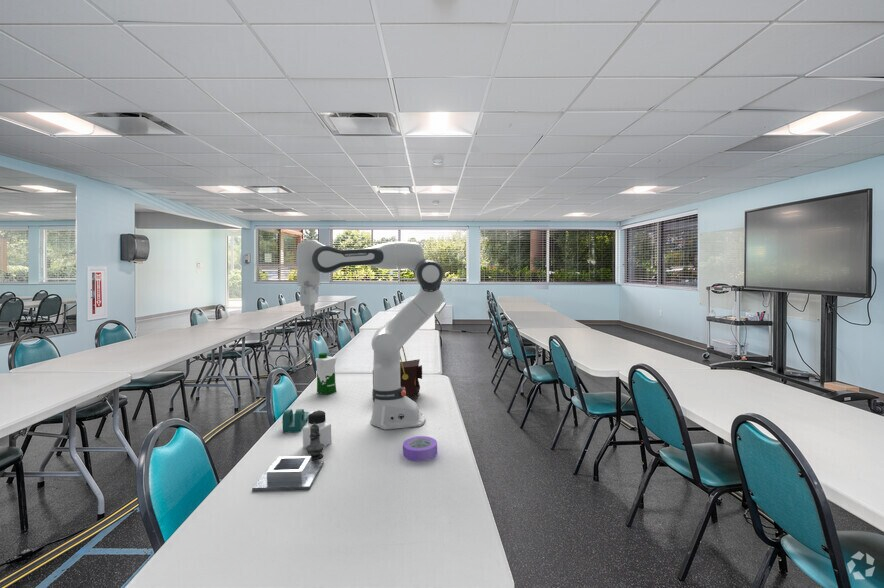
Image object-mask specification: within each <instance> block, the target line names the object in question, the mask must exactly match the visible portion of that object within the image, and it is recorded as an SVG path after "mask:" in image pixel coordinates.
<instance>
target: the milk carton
mask: <svg viewBox="0 0 884 588" xmlns="http://www.w3.org/2000/svg"><path fill="white" fill-rule="evenodd" d="M314 361H315V365H316V393H317V392H318V393H317V394H320V393H322V394H321V395H325V394H326V395H330V394H333V393H336V392H337V385H336V383H337V382H336V361H337V357H334V356H330V355H329V356H328V353H326V352H322V353H318V357H316V358H315V359H314Z"/></svg>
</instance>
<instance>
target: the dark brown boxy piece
mask: <svg viewBox="0 0 884 588" xmlns="http://www.w3.org/2000/svg"><path fill="white" fill-rule="evenodd" d="M401 349H402V352H403V357H404V360H405V361H403V360H402V356H401V354H400V386H401V387H403V388H404V387H405V390H406V395H405V396H407V397H419V393H420V390H421V389H420V388H421V385H420V381H419V379H421V380H422V379H423V365H422V364H421V365H420V359H412V360H408V359H407V357H406V353H405V349H404V345H403V346H402V347H401V348H400V350H401ZM373 387H374V383H373V382H372V388H373Z"/></svg>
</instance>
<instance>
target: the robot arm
mask: <svg viewBox="0 0 884 588" xmlns="http://www.w3.org/2000/svg"><path fill="white" fill-rule="evenodd" d="M295 255H296V257H295V259H296V260H295V263H296V266H297V271H296V285H297V286H298V287H299V286H300V289H299V292H300V293H299V296H300V297H299V298H300V299H299V301H300V302H299V303H300V306H301V307H303V310H304V316H305V318H310V317H311V316H313V315H315V308H316V303H318V302H319V301H318V300H319V286H320V285H321V273H324V274H329V273H335V272H338V271H339V270H341V269H342V268H345V267H358V266H368V267H374V268H377V269H380V270H381V269H382V270H402V269H406V270H408V269H409V270H411V271H412V273H413V276H414V277H415V279H416V282H417V283H418V284H420V288H419V290H418V292H417V293H416V294H415V295H413V297H411V299H410V300H408V301H407V302H406V303H405V304H404V305H403V306H402V307H401V308H400V309H398V311H397V312H396V313H395V314H394V315H393V316H392V317H391V318H390V319H389V320H388V321H387V322H386V323H384V325H383V326H381V327H379V328H378V329H377V330H376V331H375V332H374V335H373V337H372V339H371V348H372V350H373V366H372V367H373V368H372V384H373V383H374V387H373V386H372V391H371V392H372V393H371V394H372V395H371V396H372V397H371V398H372V403H373V405H372V413H371V416H370V417H371V419H370V421H369V422H370V424H371V425H372V426H374V427H378V428H380V429H382V430H383V431H384V430H394V429H405V428H416V427H421V426H423V425H424V424H425V422H426V417H425V415H424V414H423V413H422V412H420V408H419V405H418V404H417V402H415V401H414V400H412V399H411V397H410V398H409V396H405V395H406V390H405V387H404V388H403V387H401V386H400V362H401V360H400V355H401V349H402V346H403V347H404V345H405V344H406V343H407V342H408V341H409V339H410V338H412V336H414V334H416V332H417V331H418V330H419V329H420V328H421V327H422V326H423V325H425V323H427V321H428V320H429V319H430V318H431V317H432V316H433V315H434V314H435V313H436V312H437V311H438V310H439V309H440V307H441V306H442V304H444V301H445V297H444V293H443V291H442V290H441V289H440V288H441V285H442V281H443V278H444V269H443V267H442V266H441V264H440V263H439V262H437V261H436V260H432V259H427V258H426V257H425V254H424V249H423V247H422V246H421V244H420V243H417V242H412V241H391V242H390V241H389V242H384V243H381V244H376V245H373V246H371V247H365V248H355V249H353V248H352V249H339V248H338V249H337V248H335V247H332V246H329V245H325V244H322V243H320V242H319V241H318V240H317V239H307V240H302V241H300V242H299V243H298V244H297V245H296V254H295ZM400 348H401V349H400Z"/></svg>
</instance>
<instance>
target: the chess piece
mask: <svg viewBox="0 0 884 588" xmlns="http://www.w3.org/2000/svg"><path fill="white" fill-rule="evenodd" d="M309 437H310V445H308V446H307V447H305V449H306V451H307V454H308V456H311V459H312V461H321V460H322V459H323V458H324V457H325V456H324V454H323V451H324V448H325V447H324V444H321V443H320V434H319V426H318V425H317V424H315V422H314V424H313V425H312V426H311V427H310V436H309Z"/></svg>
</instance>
